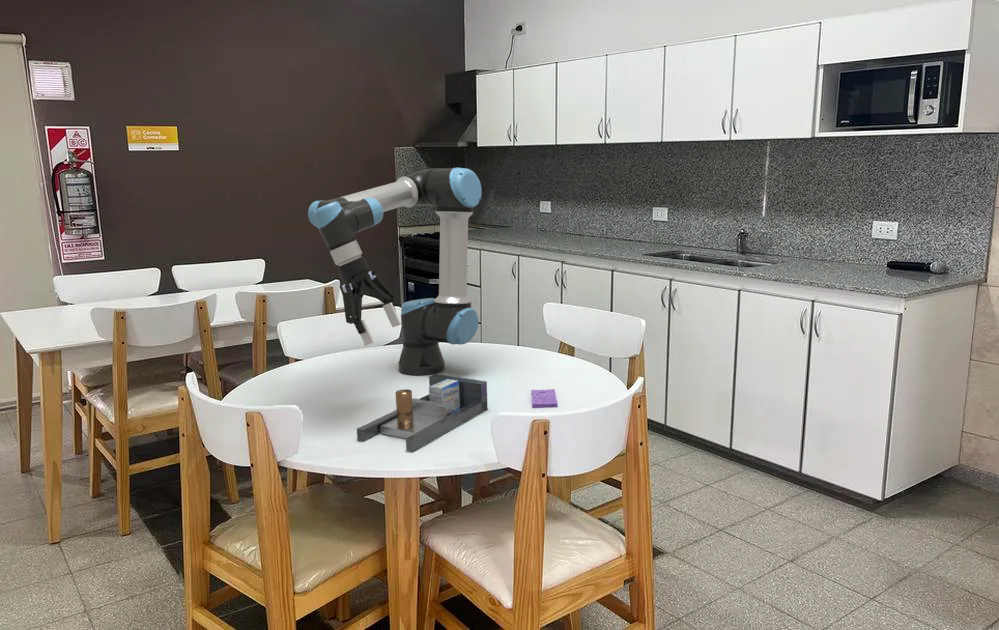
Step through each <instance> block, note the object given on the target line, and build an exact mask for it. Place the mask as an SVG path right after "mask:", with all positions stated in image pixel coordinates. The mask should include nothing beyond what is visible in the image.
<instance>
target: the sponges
mask: <svg viewBox="0 0 999 630" xmlns="http://www.w3.org/2000/svg"><path fill="white" fill-rule="evenodd" d="M556 394H557V393H556V389H555V388H552V389H530V395H531V408H532V409H546V408H548V409H549V408H558V400H557V395H556Z"/></svg>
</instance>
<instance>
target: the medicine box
mask: <svg viewBox="0 0 999 630" xmlns="http://www.w3.org/2000/svg"><path fill="white" fill-rule="evenodd" d="M428 394H429V398H430V401H432V402H438V403H444V404H450V405H451V414H452V413H454V412H456V411H458V410H460V399H459V381H456V380H451V379H446V380H444V381H441V382H439V383H437V384H434V385H432V386H430V387H429V386H428Z"/></svg>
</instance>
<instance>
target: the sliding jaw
mask: <svg viewBox="0 0 999 630" xmlns="http://www.w3.org/2000/svg"><path fill="white" fill-rule="evenodd" d="M395 404H396V407H395V408H396V409H395V410H397V418H395V419H393V420H391V421H389V422H387V423H385V424H383V425H381V426H380V429H381V433H380V434H381V435H382V434H383V435H388V436H391V437H397V438H403V439H406V438H408V437H410V436H412V435H413V434H415V433H417V432H419V431H421V430H423V429H425V428H426V427H428V426H430V425H432V424H434V423H436V422H438V421H439V420H441V419H443V418H445V417H447V416H449V415H451V405H450V404H444V403H438V402H432V401H426V400H420V398H413V391H412V390H411V389H408V388H407V389H406V388H405V389H399V390H396V391H395Z"/></svg>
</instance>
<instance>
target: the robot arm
mask: <svg viewBox="0 0 999 630" xmlns="http://www.w3.org/2000/svg"><path fill="white" fill-rule="evenodd" d="M482 190H483V189H482V185H481V181H480V179H479V177H478V176H477V174H476V172H474V171H473V170H471V169H470V168H466V167H465V168H463V167H446V168H443V167H441V168H435V167H434V168H427V169H422V170H420V171H417V172H413V173H411V174H407V175H405V176H400V177H399V178H398V179H397V180H396V181H395V182H391V183H387V184H385V185H384V184H383V185H380V186H376V187H373V188H369V189H366V190H362V191H358V192H354V193H351V194H347V195H343V196H340V197H336V198H332V199H329V200H328V199H327V200H323V199H321V200H315V201H313V202H312V203H311V204H310V206H309V207H308V211H307V216H308V217H307V218H308V220H309V223H311V225H313V227H316V228H317V230H318V231H319V234H320V235H321V238H322V239H323V242H324V243H325V245H326V247H327V249H328V251H329V254H330V255H331V258H332V260H333V263H334V264H335V265H336V266H338V267H337V271H338V273H339V275H340V277H341V279H342V280H344V281H346V283H345V284H343V285H340V286H339V291H340V292H341V294H342V301H343V309H344V315H345V322H346V323H347V324H350V325H352V324H353V325H354V327H355V329H356V331H357V334H359V335H360V337H361V340H362V341H363V344H364V346H368V345H370V344H371V345H372V344H374V343H375V339H374V338H373V335H372V334H371V331H370V329H369V326H368V325H367V322H366V321H365V319H364V318H363V319H362V311H363V310H362V308H363V297H364V295H366V294H367V293H369V294H370V295H372V296H373V297H374V298H376V299H377V300H378V301H380V302H381V303H383V305H382V308H383V311H384V312H385V314H386V316H387V319H388V320H389V323H390V325H391V327H392V328H395V327H398V326H401V336H402V349H401V354H400V358H399V360H398V372H399V373H401V374H404V375H410V376H425V375H434V374H438V373H440V372H442V371H444V370H445V368H446V364H445V359H444V356H443V354H442V351H441V348H440V344H439V342H440V343H445V344H450V345H454V346H455V345H466V344H467V343H469V342H470V341H472V340H473V337H475V335H476V334H477V330H478V328H479V324H480V323H479V320H480V319H479V315H478V314H477V311H476V310H475V309H474V308H472V300H471V299H470V298H469V297H468V295H467V287H468V286H467V284H468V248H469V247H468V244H469V243H468V242H469V241H468V240H469V238H468V237H469V236H468V235H469V234H468V233H469V218H470V217H471V216H472V215H473V214H474V207H476V206H478V205H479V203H480V201H481V200H482V192H483V191H482ZM419 206H421V207H422V206H423V207H424V206H425V207H427V206H428V207H429V206H430V207H435V208H434V209H435V214H436V215H437V216H438V217H439V219H440V220H439V223H440V224H439V267H438V268H439V272H438V273H439V275H438V296H436V298H434V297H429V298H428V297H427V298H426V297H425V298H420V299H413V300H412V299H411V300H409V301H406V302H403V303H402V304H401V307H400V318H399V315H398V313H397V310H396V308H395V305H394V304H393V302H395V300H396V299H395V297H396V295H395V293H394V292H393V291H392V289H390V287H388V285H387V284H386V283H385V281H383V279H381V278H380V276H379V274H378V273H377V270H375V269H373V270H371V271H367V270H369V265H368V263H367V260H366V258H365V257H364V256H362V254H363V251H362V250H361V247H360V244H359V243H358V241H357V239H356V236H355V234H357V233H359V232H362V231H364V230H367V229H369V228H373V227H374V226H376V225H377V224H380V223H381V222H382V220H383V218H384V212H388V211H392V210H394V209H399V208H401V207H405V208H413V207H419Z"/></svg>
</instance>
